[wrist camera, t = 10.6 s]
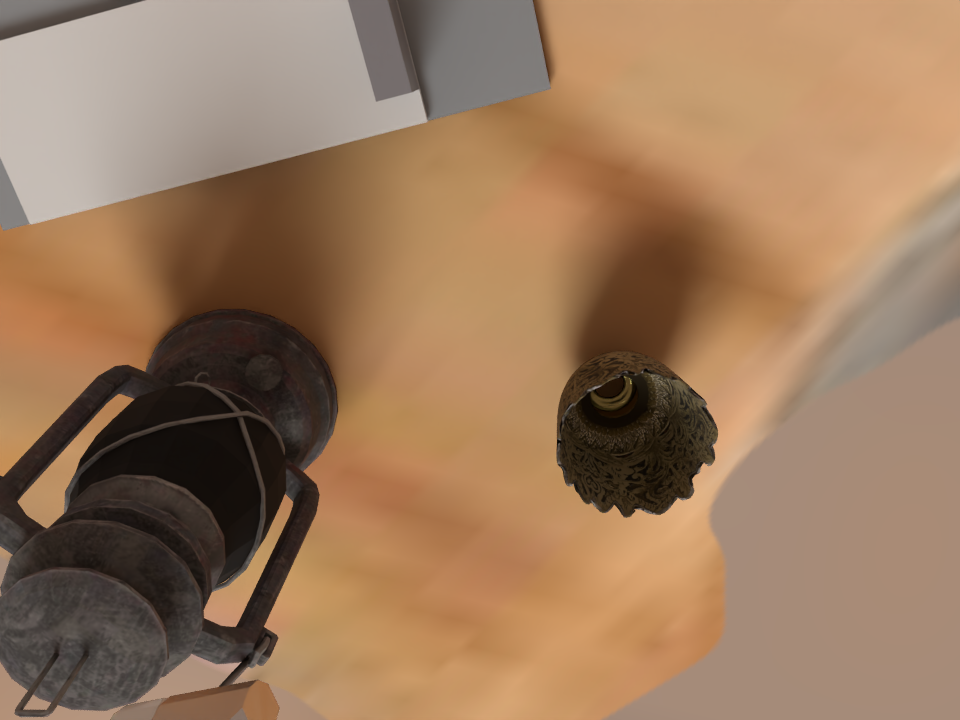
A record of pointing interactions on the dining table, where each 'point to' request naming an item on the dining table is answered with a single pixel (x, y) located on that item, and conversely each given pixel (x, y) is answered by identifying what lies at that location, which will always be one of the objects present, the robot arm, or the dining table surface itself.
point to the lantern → (164, 513)
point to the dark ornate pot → (632, 435)
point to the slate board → (432, 41)
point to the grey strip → (194, 94)
